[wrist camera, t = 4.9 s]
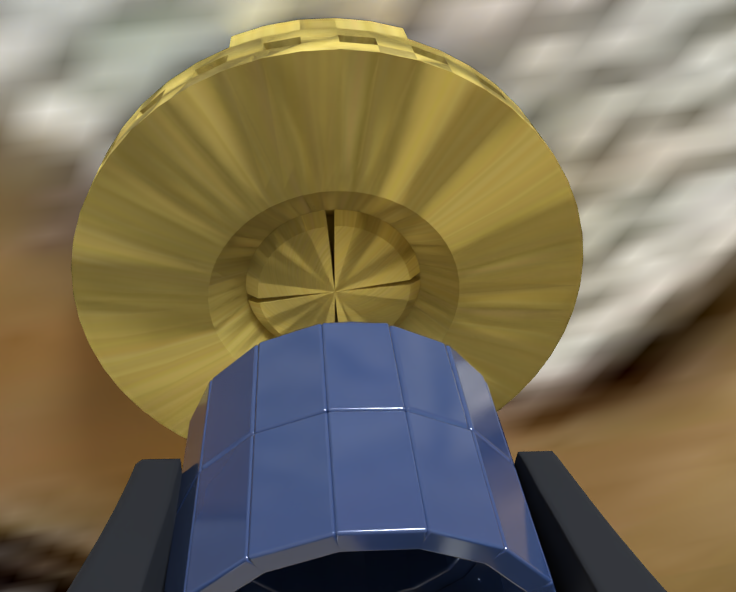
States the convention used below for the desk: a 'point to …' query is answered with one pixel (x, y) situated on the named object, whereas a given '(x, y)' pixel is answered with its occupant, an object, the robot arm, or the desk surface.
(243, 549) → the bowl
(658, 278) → the desk surface
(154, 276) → the gold flat disc
